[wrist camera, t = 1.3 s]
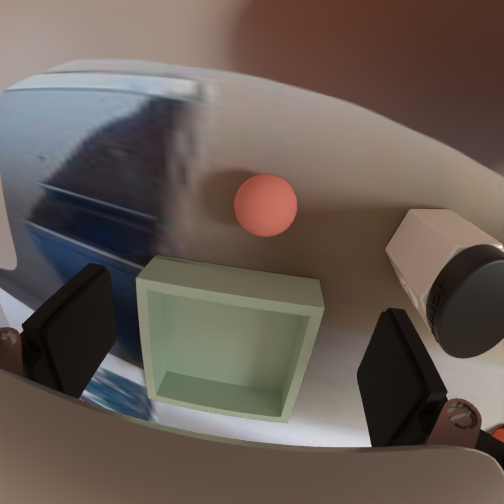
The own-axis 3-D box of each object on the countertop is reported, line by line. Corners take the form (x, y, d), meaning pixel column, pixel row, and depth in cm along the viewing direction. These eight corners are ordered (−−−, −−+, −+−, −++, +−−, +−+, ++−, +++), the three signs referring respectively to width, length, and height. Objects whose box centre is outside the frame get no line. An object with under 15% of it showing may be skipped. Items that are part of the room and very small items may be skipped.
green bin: (318, 279, 30) (324, 307, 25) (287, 392, 36) (287, 423, 31) (156, 254, 30) (135, 277, 26) (161, 370, 36) (148, 398, 32)
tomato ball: (300, 174, 26) (304, 185, 21) (290, 229, 28) (292, 250, 23) (241, 166, 26) (233, 174, 22) (235, 221, 28) (226, 240, 24)
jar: (372, 230, 27) (422, 297, 16) (442, 188, 25) (520, 230, 14) (405, 300, 30) (449, 379, 19) (467, 262, 27) (529, 324, 16)
